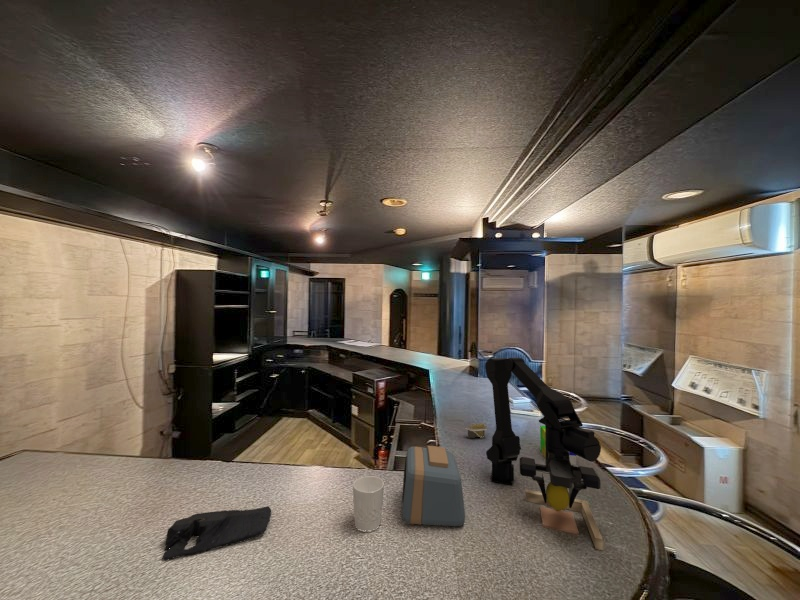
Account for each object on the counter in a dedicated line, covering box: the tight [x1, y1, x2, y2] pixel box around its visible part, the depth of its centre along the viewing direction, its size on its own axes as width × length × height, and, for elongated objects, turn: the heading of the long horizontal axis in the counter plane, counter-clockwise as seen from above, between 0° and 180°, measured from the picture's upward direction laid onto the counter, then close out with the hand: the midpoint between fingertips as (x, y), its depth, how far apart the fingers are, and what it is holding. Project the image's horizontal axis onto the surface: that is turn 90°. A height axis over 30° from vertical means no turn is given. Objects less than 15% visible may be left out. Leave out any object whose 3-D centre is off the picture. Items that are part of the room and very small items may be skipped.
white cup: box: [352, 475, 385, 531], centre depth 79 cm, size 8×8×10 cm
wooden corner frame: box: [525, 489, 604, 551], centre depth 82 cm, size 16×16×2 cm
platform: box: [464, 423, 488, 439], centre depth 137 cm, size 12×18×7 cm, turn 101°
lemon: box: [545, 481, 569, 511], centre depth 82 cm, size 6×6×8 cm
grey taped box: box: [401, 445, 466, 527], centre depth 86 cm, size 16×16×16 cm
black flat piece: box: [161, 506, 272, 561], centre depth 76 cm, size 15×22×5 cm
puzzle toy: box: [539, 425, 577, 466], centre depth 120 cm, size 10×10×10 cm
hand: (557, 504), depth 82 cm, fingers closed on lemon, 5 cm apart
